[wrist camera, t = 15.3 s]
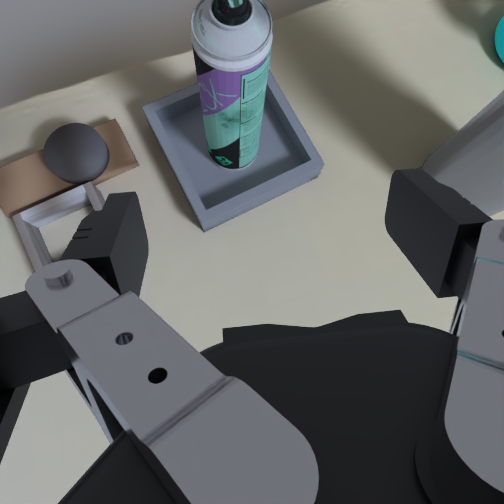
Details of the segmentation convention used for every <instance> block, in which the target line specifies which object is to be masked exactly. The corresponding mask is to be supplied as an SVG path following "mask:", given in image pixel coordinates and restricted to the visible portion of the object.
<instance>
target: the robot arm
mask: <svg viewBox="0 0 504 504" xmlns="http://www.w3.org/2000/svg"><path fill="white" fill-rule="evenodd" d="M503 210H504V91H502V92H501V93H500V94H499V95H498V96H497V97H496V98H495V99H493V100H492V101H491V102H490V103H489V104H488V105H487V106H486V107H485V108H483V109H482V110H481V111H480V112H479V113H478V114H477V115H476V116H474V117H473V118H472V119H471V120H470V121H469V122H468V123H467V124H465V125H464V126H463V127H462V128H461V129H460V130H459V131H458V132H456V133H455V134H454V135H453V136H452V137H451V138H450V139H448V140H447V141H446V142H445V143H444V144H443V145H442V146H441V147H439V148H438V149H437V150H436V151H435V152H434V153H433V154H432V155H431V156H429V158H428V159H427V160H426V161H425V163H424V165H423V167H422V169H421V168H416V169H405V170H396V171H395V172H394V173H393V175H392V178H391V183H390V189H389V195H388V201H387V207H386V213H385V225H386V230H387V232H388V234H389V235H390V237H391V238H392V239H393V240H394V242H395V243H396V244H397V246H398V247H399V248H400V250H401V251H402V252H403V254H404V255H405V256H406V257H407V259H408V260H409V261H410V263H411V264H412V265H413V267H414V268H415V269H416V270H417V272H418V273H419V274H420V276H421V277H422V278H423V280H424V281H425V282H426V284H427V285H428V286H429V287H430V289H431V290H432V291H433V293H434V294H435V295H436V297H437V298H443V297H453V296H457V297H458V301H457V304H456V307H455V310H454V314H453V318H452V322H451V325H450V329H449V333H448V332H446V331H443V330H440V329H437V328H433V327H429V326H426V325H420V324H415V323H408V321H407V320H406V318H405V316H404V315H403V313H402V312H401V310H393V311H384V312H374V313H365V314H357V315H354V316H351V317H348V318H345V319H341V320H338V321H335V322H332V323H329V324H326V325H323V326H320V327H299V326H287V325H275V324H261V325H251V326H242V327H232V328H223V342H222V343H219V344H216V345H214V346H211V347H209V348H207V349H205V350H203V351H201V352H200V353H199V352H198V351H197V350H196V349H195V348H194V347H192V346H191V345H190V344H189V343H188V342H187V341H186V340H185V339H184V338H183V337H182V336H180V335H179V334H178V333H177V332H176V331H175V330H174V329H173V328H172V327H171V326H170V325H168V324H167V323H166V322H165V321H164V320H163V319H162V318H161V317H160V316H159V315H158V314H156V313H155V312H154V311H153V310H152V309H151V308H150V307H149V306H148V305H147V304H146V303H144V302H143V301H142V300H141V299H140V298H139V295H140V290H141V286H142V281H143V277H144V272H145V268H146V263H147V258H148V239H147V234H146V229H145V225H144V221H143V217H142V212H141V208H140V204H139V200H138V196H137V194H136V192H124V193H112V194H109V195H108V197H107V200H106V202H105V204H104V206H103V208H102V210H99V211H93V212H92V213H90V214H89V215H88V216H86V217H85V218H84V219H83V220H82V221H81V223H80V225H79V226H78V228H77V232H75V234H74V235H73V237H72V239H73V240H71V241H70V243H69V245H68V246H67V248H66V250H65V252H64V254H63V256H62V257H61V259H60V261H57V262H54V263H51V264H48V265H46V266H44V267H42V268H40V269H38V270H37V271H36V272H34V273H33V274H32V275H31V276H30V277H29V278H28V279H27V281H26V284H25V289H26V290H25V291H23V292H20V293H16V294H13V295H9V296H6V297H2V298H0V463H1V461H2V458H3V455H4V453H5V450H6V447H7V445H8V442H9V439H10V437H11V434H12V432H13V429H14V426H15V424H16V421H17V418H18V416H19V413H20V410H21V408H22V405H23V402H24V400H25V397H26V394H27V392H28V389H29V387H30V383H31V382H34V381H36V380H39V379H42V378H45V377H48V376H50V375H53V374H56V373H59V372H61V371H64V370H65V372H66V374H67V375H68V377H69V378H70V380H71V381H72V383H73V384H74V386H75V387H76V389H77V390H78V392H79V393H80V395H81V396H82V398H83V400H84V401H85V403H86V404H87V406H88V407H89V409H90V410H91V412H92V413H93V415H94V416H95V418H96V419H97V421H98V423H99V425H100V426H101V428H102V430H103V432H104V434H105V435H106V437H107V439H108V441H109V443H110V446H109V447H108V448H107V449H106V450H105V451H104V452H103V453H102V455H101V456H100V457H99V458H98V459H97V460H96V461H95V462H94V463H93V465H92V466H91V467H90V468H89V469H88V470H87V471H86V472H85V474H84V475H83V476H82V477H81V478H80V479H79V480H78V481H77V483H76V484H75V485H74V486H73V487H72V488H71V489H70V490H69V492H68V493H67V494H66V495H65V496H64V497H63V498H62V499H61V501H60V502H59V503H58V504H504V220H493V219H491V218H490V216H492V215H494V214H496V213H498V212H501V211H503Z"/></svg>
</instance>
